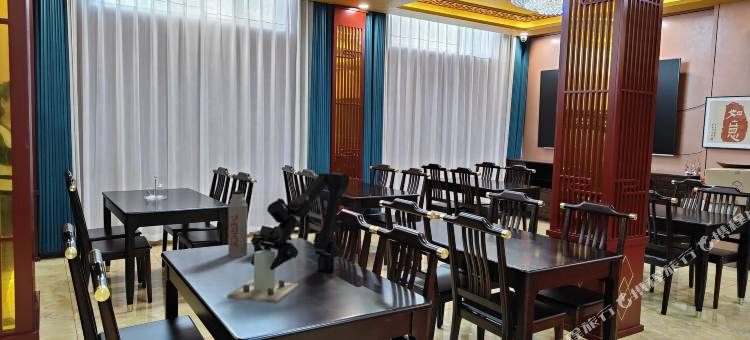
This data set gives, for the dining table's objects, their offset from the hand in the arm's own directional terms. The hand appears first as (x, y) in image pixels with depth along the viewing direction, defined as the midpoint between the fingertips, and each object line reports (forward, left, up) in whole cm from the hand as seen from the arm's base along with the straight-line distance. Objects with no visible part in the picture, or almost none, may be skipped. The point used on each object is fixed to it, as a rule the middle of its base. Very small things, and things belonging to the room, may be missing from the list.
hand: (261, 267), depth 181 cm
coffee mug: (+22, -48, -9) cm, 54 cm away
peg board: (-1, -1, -9) cm, 9 cm away
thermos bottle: (+32, -43, -9) cm, 55 cm away
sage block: (-1, -1, -8) cm, 8 cm away
